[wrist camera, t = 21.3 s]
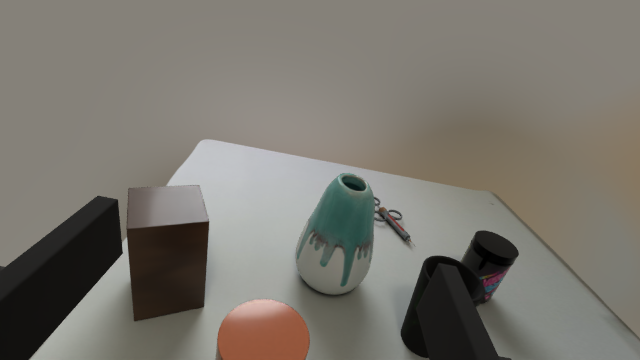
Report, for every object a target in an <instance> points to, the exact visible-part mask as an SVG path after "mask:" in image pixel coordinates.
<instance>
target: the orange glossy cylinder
mask: <svg viewBox="0 0 640 360" xmlns="http://www.w3.org/2000/svg"><path fill="white" fill-rule="evenodd" d="M309 344H310V337H309V332H308V328H307V326H306V323H305V322H304V320H303V318H302V317H301V316H300V315H299V313H297V312H296V311H295V310H294V309H293V308H292V307H290V306H288V305H287V304H284V303H282V302H279V301H276V300H270V299H257V300H251V301H248V302H245V303H243V304H241V305H239V306H237V307H236V308H235V309H233V310H232V311H231V312H230V313H229V314H228V315H227V316H226V317H225V319H224V320H223V322H222V324H221V326H220V329H219V332H218V339H217V349H216V360H306V357H307V353H308V350H309Z"/></svg>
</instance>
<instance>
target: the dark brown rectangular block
mask: <svg viewBox="0 0 640 360" xmlns="http://www.w3.org/2000/svg"><path fill="white" fill-rule="evenodd" d="M128 190H129V191H128V210H127V240H128V252H129V265H130V277H131V289H132V301H133V313H134V321H138V320H143V319H148V318H153V317H158V316H162V315H167V314H172V313H177V312H182V311H187V310H191V309H196V308H201V307H204V297H205V281H206V265H207V249H208V233H209V219H208V215H207V212H206V208H205V204H204V201H203V197H202V193H201V190H200V186H199V185H190V186H165V187H141V188H129V189H128Z"/></svg>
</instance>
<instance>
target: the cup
mask: <svg viewBox="0 0 640 360" xmlns="http://www.w3.org/2000/svg"><path fill="white" fill-rule="evenodd" d="M438 263H441V264H446V265H451V266H456V267H457V269H458V271H459V273H460V275H461V278H462V280H463V282H464V284H465V286H466V288H467V290H468V292H469V295H470V297H471V299H472V301H473V303H474V305H475V307H477V306H478V304H479V303H480V302H481V301H482V299H483V298H484V296H485V287H484V284H483V282H482V280H481V279H480V277H479V276H478V275H477V274H476V273H475V272H474V271H473V270H472V269H470V268H469V267H468V266H466V265H465V264H463V263H461V262H459V261H457V260H455V259H452V258H450V257H445V256H431V257H429V258H427V259H426V260H425V261H424V263H423V266H422V269H421V272H420V275H419V278H418V281H417V284H416V287H415V290H414V293H413V295H412V298H411V301H410V304H409V307H408V310H407V313H406V316H405V319H404V322H403V325H402V329H401V337H402V340H403V342H404V343H405V345H406V346H407V347H408V348H409V349H410V350H411V351H412V352H413V353H415V354H417V355H419V356H421V357H425V358H429V356H428V352H427V348H426V344H425V341H424V337H423V333H422V329H421V326H420V322H419V318H418V314H417V311H416V307H417V305H418V303H419V301H420V299H421V297H422V295H423V293H424V291H425V289H426V287H427V285H428V283H429V281H430V279H431V277H432V275H433V273H434V271H435V269H436V267H437V265H438Z"/></svg>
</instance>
